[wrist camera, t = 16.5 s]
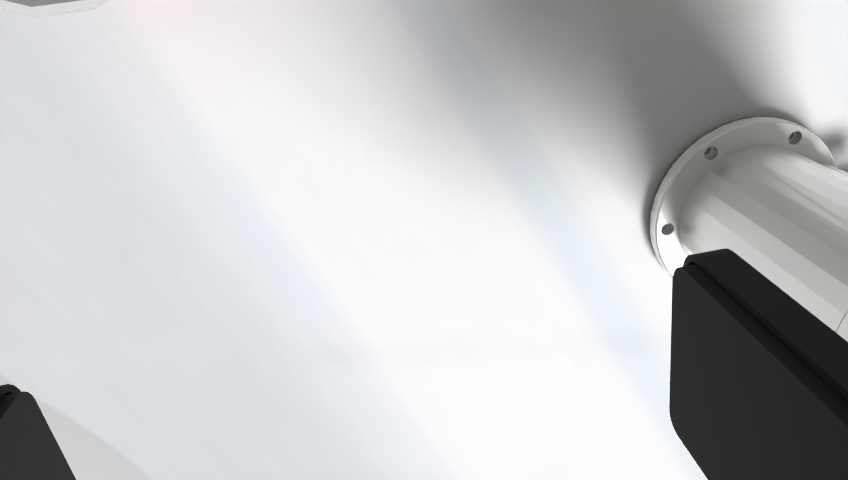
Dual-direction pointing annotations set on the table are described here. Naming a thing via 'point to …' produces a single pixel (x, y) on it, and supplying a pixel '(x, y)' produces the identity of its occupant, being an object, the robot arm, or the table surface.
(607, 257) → the table surface
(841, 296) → the robot arm
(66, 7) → the plastic cup
